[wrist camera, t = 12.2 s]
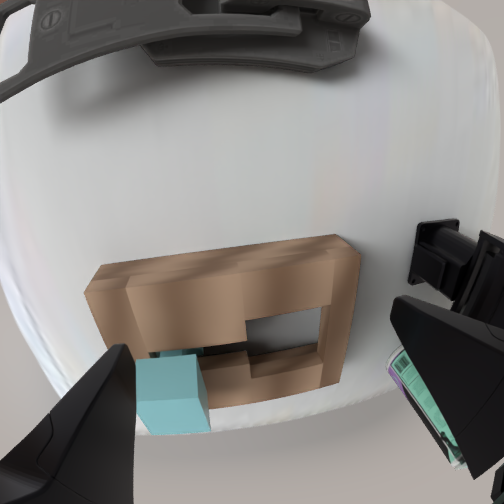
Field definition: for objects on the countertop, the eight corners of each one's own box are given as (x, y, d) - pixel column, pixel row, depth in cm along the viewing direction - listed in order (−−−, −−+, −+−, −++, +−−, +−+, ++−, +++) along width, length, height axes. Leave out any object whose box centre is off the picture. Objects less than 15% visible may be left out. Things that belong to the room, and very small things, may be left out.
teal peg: (194, 305, 21) (198, 397, 13) (202, 343, 23) (211, 431, 15) (146, 311, 21) (129, 401, 13) (158, 347, 22) (151, 434, 14)
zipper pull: (-23, 11, 3) (378, -50, 7) (22, 30, 9) (335, -16, 13) (-38, 133, 7) (408, 62, 10) (18, 128, 13) (351, 77, 16)
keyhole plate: (335, 234, 21) (361, 254, 17) (323, 355, 26) (339, 382, 23) (101, 264, 18) (83, 292, 15) (146, 382, 24) (143, 413, 20)
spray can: (380, 376, 31) (455, 491, 13) (392, 346, 28) (484, 471, 10) (411, 364, 31) (486, 465, 13) (423, 335, 29) (513, 441, 11)
